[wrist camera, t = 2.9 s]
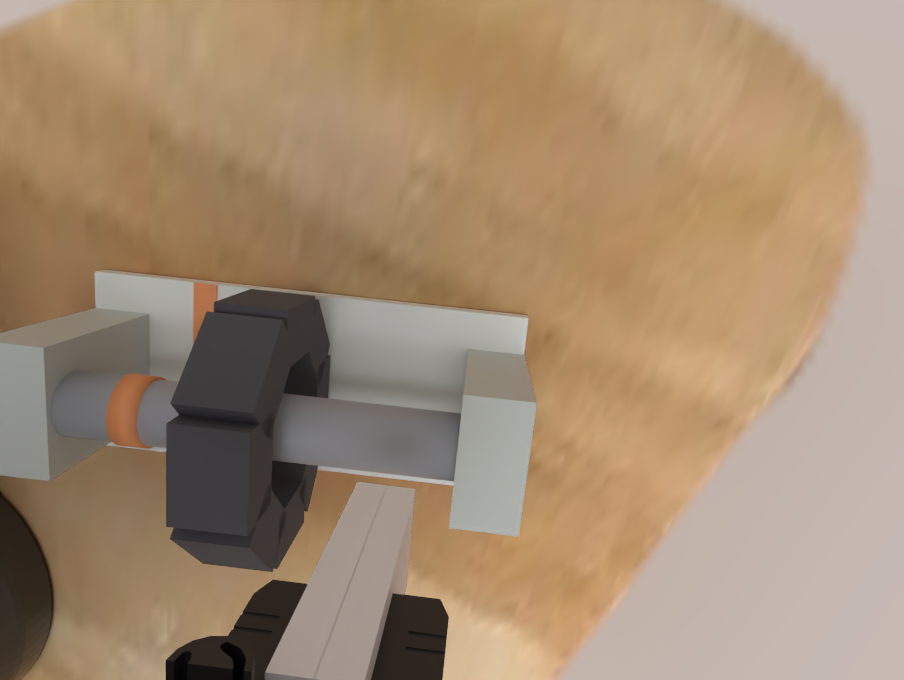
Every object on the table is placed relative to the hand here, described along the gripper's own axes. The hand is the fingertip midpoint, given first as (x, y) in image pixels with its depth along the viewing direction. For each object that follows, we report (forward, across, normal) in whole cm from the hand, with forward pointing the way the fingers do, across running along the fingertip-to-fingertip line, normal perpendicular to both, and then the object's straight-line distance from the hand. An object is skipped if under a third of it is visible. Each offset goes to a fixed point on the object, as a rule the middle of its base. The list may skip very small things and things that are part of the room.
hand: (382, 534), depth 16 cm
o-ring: (+11, -5, 0) cm, 12 cm away
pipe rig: (+12, -6, 0) cm, 13 cm away
